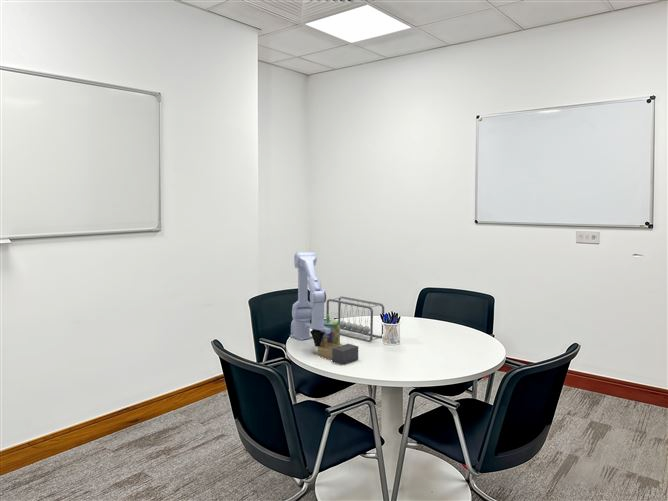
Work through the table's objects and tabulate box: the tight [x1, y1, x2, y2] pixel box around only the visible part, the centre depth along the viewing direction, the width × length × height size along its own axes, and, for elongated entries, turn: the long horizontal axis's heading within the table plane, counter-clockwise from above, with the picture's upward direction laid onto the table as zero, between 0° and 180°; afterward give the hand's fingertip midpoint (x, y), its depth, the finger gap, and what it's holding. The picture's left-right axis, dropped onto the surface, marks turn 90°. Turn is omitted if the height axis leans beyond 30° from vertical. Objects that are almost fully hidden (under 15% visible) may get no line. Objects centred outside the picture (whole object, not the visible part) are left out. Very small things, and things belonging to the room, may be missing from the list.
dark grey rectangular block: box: [332, 343, 359, 366], centre depth 223 cm, size 14×10×6 cm
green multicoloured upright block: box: [320, 313, 341, 346], centre depth 243 cm, size 9×9×15 cm
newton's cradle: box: [325, 296, 385, 343], centre depth 261 cm, size 30×10×18 cm, turn 49°
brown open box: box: [317, 343, 341, 361], centre depth 226 cm, size 10×8×4 cm
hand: (317, 345), depth 233 cm, fingers closed
